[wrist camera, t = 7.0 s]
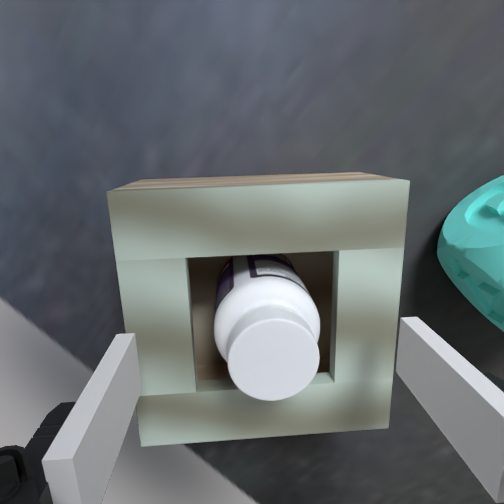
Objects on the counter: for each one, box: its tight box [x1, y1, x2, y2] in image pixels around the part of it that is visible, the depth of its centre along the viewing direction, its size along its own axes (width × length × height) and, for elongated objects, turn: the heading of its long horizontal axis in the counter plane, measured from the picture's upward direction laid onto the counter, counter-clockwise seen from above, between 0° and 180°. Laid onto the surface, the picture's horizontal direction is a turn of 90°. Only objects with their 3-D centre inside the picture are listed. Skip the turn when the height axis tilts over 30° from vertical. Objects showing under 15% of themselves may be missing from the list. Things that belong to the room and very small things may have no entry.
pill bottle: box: [214, 253, 320, 401], centre depth 20 cm, size 5×5×10 cm
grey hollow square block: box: [107, 172, 410, 447], centre depth 22 cm, size 14×14×7 cm
